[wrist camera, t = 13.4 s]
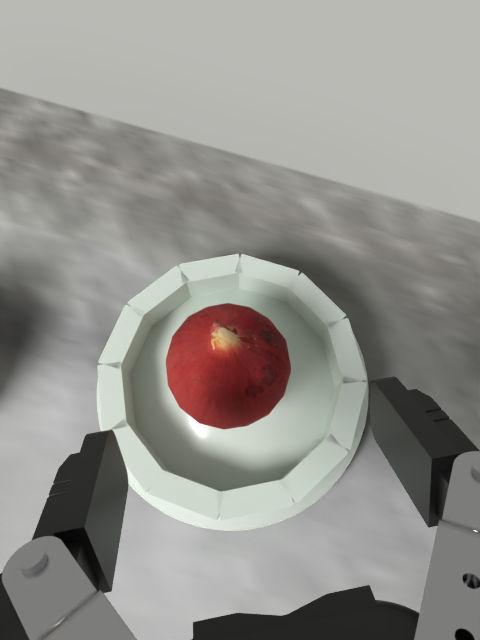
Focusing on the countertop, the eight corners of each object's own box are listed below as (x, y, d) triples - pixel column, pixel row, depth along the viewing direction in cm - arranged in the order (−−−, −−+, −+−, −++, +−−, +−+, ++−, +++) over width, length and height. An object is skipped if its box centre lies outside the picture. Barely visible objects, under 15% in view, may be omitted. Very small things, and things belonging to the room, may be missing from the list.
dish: (325, 250, 28) (333, 224, 25) (399, 496, 23) (420, 498, 20) (93, 292, 27) (75, 270, 24) (114, 556, 22) (94, 567, 19)
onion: (270, 329, 25) (288, 258, 18) (290, 429, 23) (320, 395, 16) (170, 343, 25) (146, 276, 17) (180, 447, 23) (159, 420, 15)
